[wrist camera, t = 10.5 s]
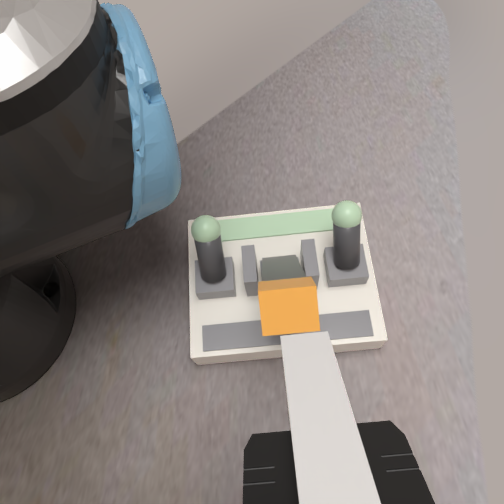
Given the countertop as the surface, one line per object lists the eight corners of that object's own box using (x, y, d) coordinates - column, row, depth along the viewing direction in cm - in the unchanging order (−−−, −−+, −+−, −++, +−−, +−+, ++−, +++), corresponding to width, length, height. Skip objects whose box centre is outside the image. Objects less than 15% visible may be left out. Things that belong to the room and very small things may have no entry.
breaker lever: (262, 283, 36) (262, 336, 23) (259, 254, 36) (257, 291, 23) (299, 279, 36) (320, 330, 23) (296, 250, 36) (316, 285, 23)
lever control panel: (197, 365, 37) (171, 340, 29) (194, 235, 42) (171, 182, 34) (380, 348, 36) (406, 318, 28) (355, 219, 41) (371, 161, 33)
